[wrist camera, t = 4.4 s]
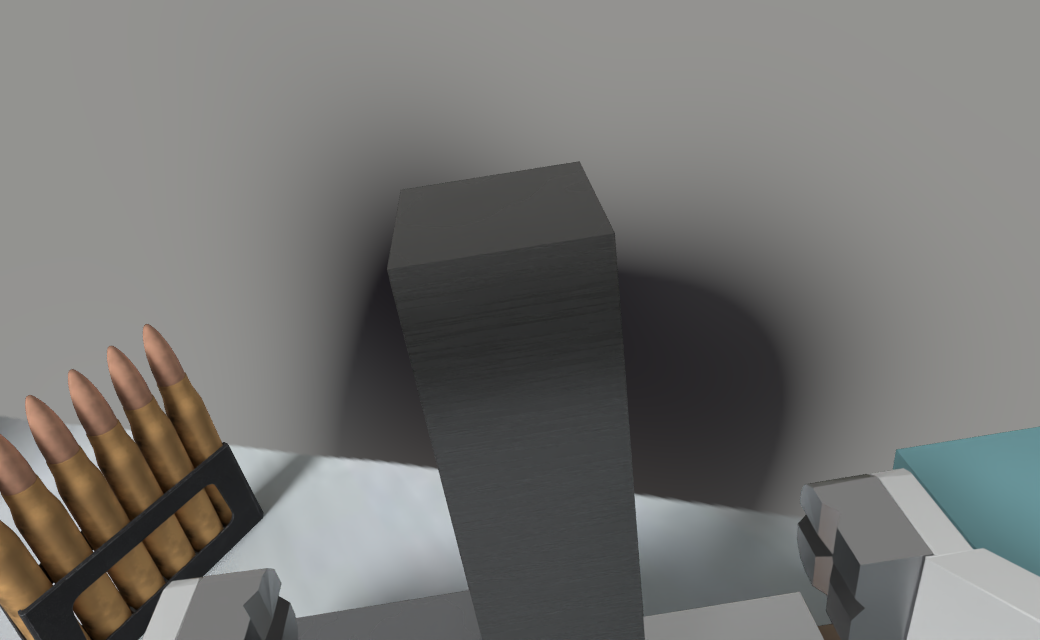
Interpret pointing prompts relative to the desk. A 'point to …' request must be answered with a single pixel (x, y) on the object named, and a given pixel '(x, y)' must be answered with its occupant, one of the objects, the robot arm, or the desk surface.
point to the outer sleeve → (398, 621)
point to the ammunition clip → (118, 505)
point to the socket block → (986, 490)
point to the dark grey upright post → (538, 410)
